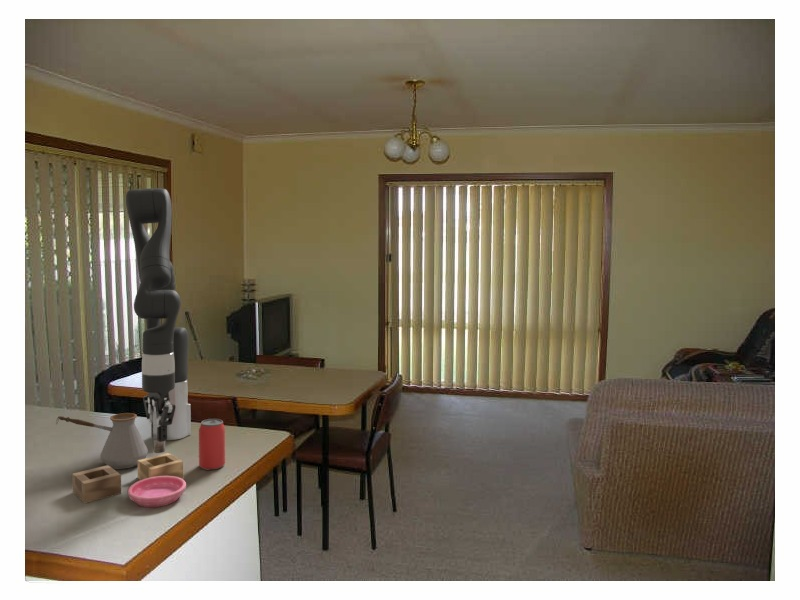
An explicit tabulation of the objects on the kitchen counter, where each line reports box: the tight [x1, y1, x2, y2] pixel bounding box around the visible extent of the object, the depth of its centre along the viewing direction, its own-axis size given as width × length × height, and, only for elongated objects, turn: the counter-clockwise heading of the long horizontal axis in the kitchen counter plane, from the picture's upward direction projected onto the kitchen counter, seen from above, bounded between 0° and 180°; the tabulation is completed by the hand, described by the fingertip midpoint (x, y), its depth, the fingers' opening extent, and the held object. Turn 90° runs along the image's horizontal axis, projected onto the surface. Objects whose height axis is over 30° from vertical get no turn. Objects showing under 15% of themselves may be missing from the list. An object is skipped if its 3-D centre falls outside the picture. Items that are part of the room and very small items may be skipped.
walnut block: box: [71, 465, 122, 504], centre depth 141 cm, size 8×8×4 cm
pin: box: [152, 411, 166, 454], centre depth 149 cm, size 3×3×10 cm
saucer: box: [127, 476, 187, 508], centre depth 139 cm, size 12×12×3 cm
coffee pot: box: [55, 412, 149, 470], centre depth 156 cm, size 21×12×15 cm, turn 123°
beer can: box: [198, 418, 226, 471], centre depth 159 cm, size 7×7×12 cm
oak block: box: [137, 452, 184, 481], centre depth 150 cm, size 8×8×4 cm
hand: (159, 438), depth 149 cm, fingers closed on pin, 2 cm apart
